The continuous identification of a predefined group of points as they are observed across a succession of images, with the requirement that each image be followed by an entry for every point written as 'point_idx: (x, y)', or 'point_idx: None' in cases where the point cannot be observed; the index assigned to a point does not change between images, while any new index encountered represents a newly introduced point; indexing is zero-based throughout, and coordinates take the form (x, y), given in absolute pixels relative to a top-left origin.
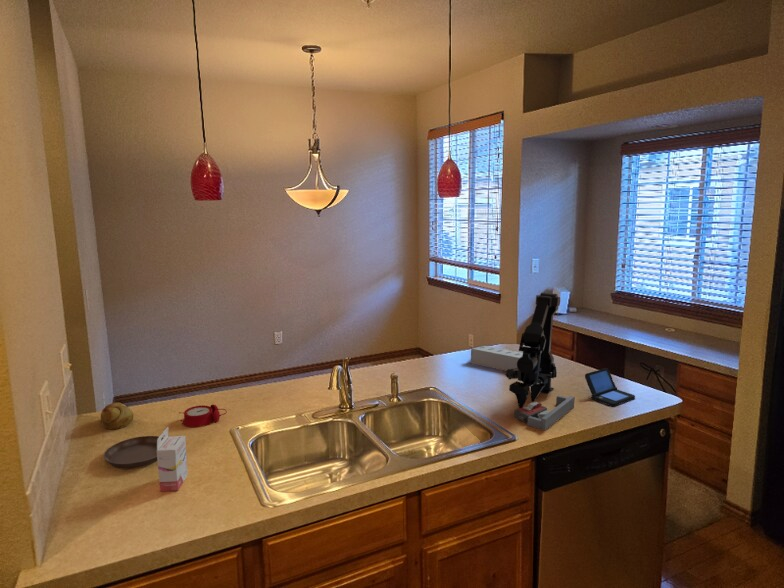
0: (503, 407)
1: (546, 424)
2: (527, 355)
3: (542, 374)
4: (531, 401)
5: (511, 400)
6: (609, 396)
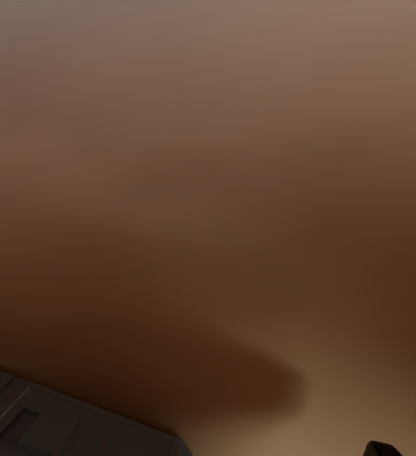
0: (21, 50)
1: None
2: None
3: None
4: (367, 447)
5: (405, 39)
6: None
